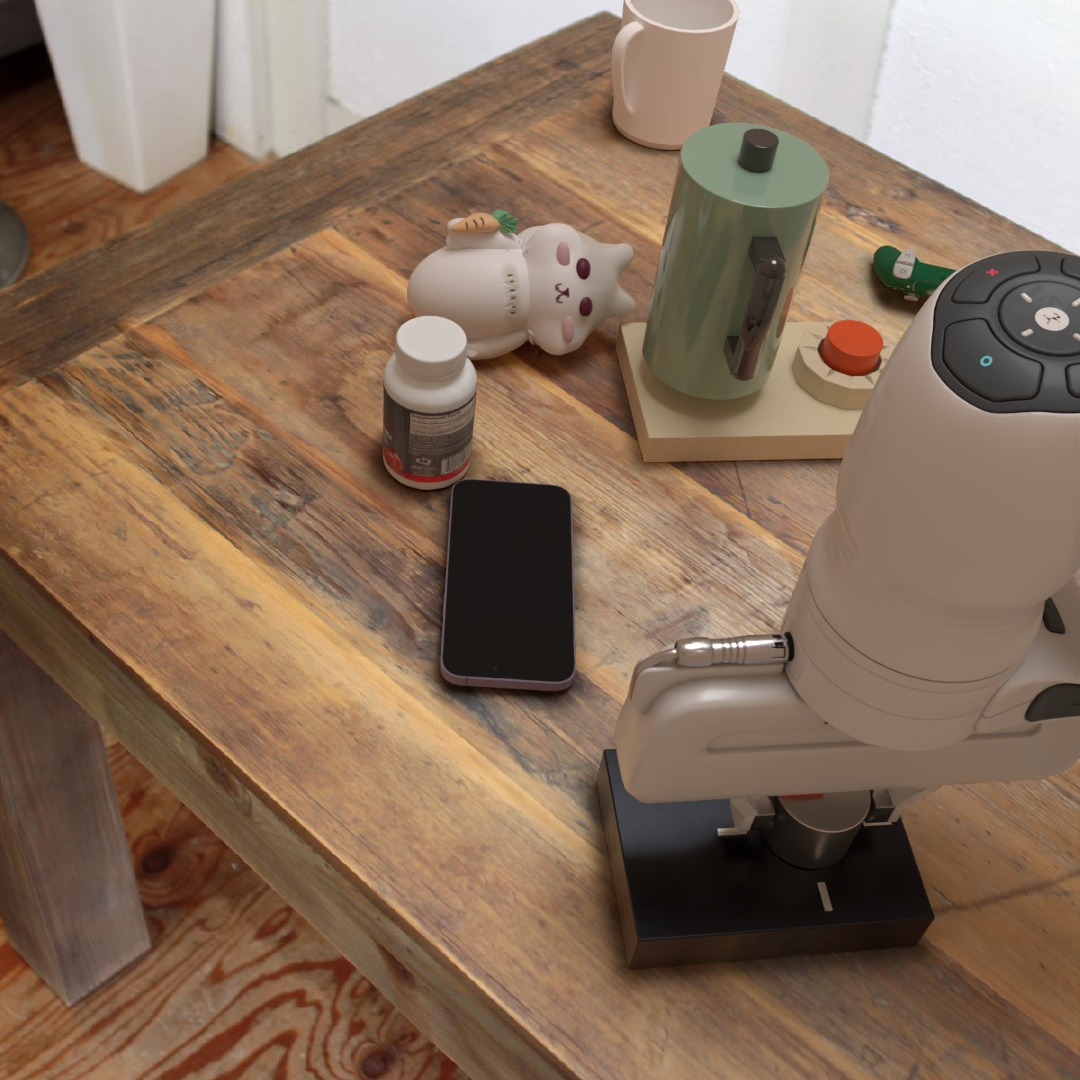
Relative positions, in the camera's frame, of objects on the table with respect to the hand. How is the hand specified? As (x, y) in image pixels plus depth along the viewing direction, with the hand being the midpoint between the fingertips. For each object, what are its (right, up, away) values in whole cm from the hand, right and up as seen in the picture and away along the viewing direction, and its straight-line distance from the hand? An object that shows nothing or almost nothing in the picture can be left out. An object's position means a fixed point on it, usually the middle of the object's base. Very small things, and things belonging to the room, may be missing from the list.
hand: (811, 813), depth 63 cm
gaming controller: (+16, +31, +35) cm, 49 cm away
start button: (+7, +25, +24) cm, 35 cm away
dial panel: (-2, -3, +3) cm, 5 cm away
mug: (-4, +47, +47) cm, 66 cm away
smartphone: (-15, +10, +13) cm, 22 cm away
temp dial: (0, -1, +1) cm, 1 cm away
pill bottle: (-20, +17, +19) cm, 33 cm away
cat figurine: (-14, +27, +28) cm, 41 cm away
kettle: (-2, +25, +22) cm, 33 cm away
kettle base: (+1, +22, +26) cm, 34 cm away
